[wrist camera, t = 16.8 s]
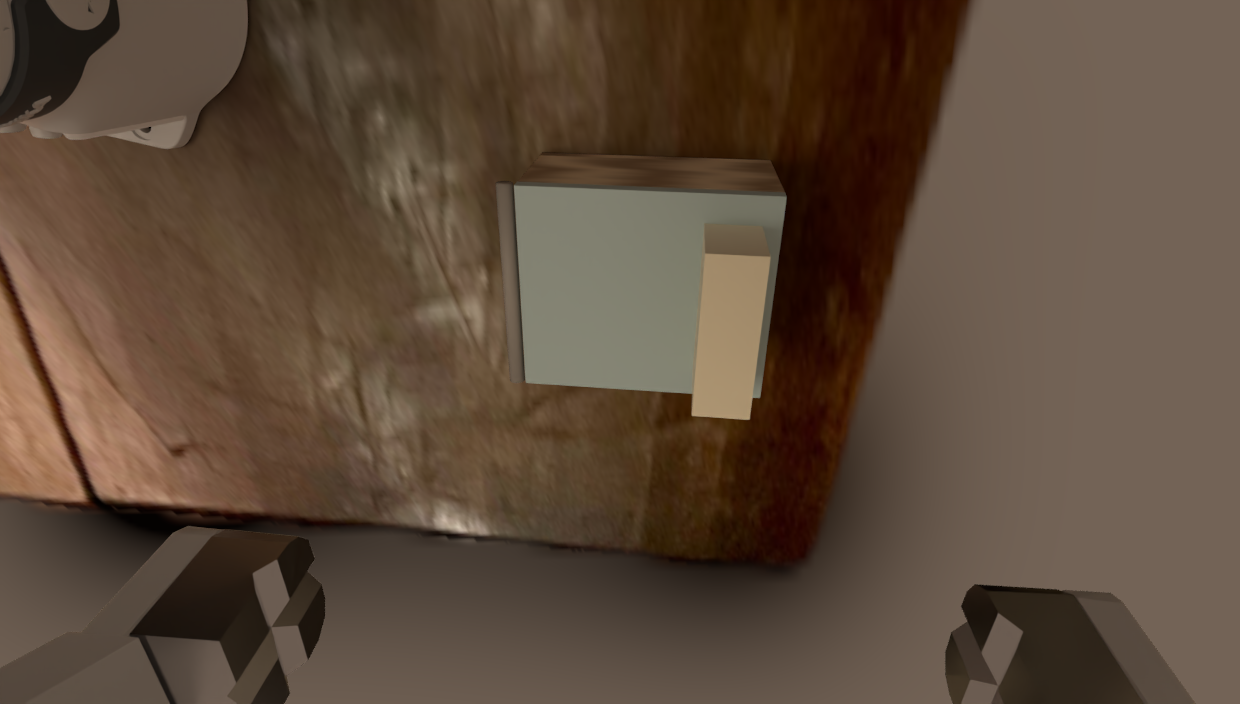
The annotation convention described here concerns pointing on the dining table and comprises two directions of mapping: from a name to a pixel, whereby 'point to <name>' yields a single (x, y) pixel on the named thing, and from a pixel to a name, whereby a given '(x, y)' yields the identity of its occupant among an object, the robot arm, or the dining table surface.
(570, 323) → the lid
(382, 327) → the dining table surface
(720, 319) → the tan rectangular block
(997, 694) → the robot arm
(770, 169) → the crate
